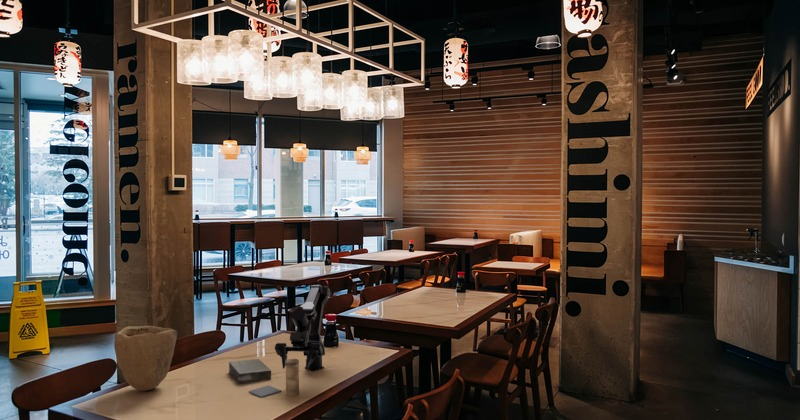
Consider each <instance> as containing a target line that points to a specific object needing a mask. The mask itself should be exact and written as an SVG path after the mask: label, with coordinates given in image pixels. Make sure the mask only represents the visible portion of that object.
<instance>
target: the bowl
mask: <svg viewBox="0 0 800 420" xmlns="http://www.w3.org/2000/svg"><path fill="white" fill-rule="evenodd" d="M177 338H178V331H177V330H175V329H173V328H171V327H160V326H154V325H143V326H142V325H139V326H137V325H135V326H134V325H133V326H132V325H131V326H129V325H128V326H125V327H123V328H122V329H121V330H119V331H117V332H116V333H115V335H114V343H113V345H114V352H115V356H116V361H117V365H118V367H119V369H120V370H121V372H122V375H123V379H124V380H125V381H126V383H128V385H129V386H130V387H131V388H133V389H135V390H138V391H141V392H145V391H150V390H155V389H156V388H158V386H159V385H160V384H161V383H162V382H163V381H164V380H165V378H166V377H167V375H168V373H169V372H170V368H171V364H172V359H173V357H174V353H175V347H176V344H177V342H176V341H177Z"/></svg>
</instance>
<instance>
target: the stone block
mask: <svg viewBox="0 0 800 420" xmlns="http://www.w3.org/2000/svg"><path fill="white" fill-rule="evenodd" d="M228 373H229V374H230V375H231V377H232V378H234V380H235V381H236V383H237V384H238V385H244V384H249V383H251V384H252V383H254V382H260V381H266V380H271V379H272V370H271V369H270V368H269V367H268V366H267V365H266V364H265V363H264V362H263V361H262V360H260V359H259V358H255V359H244V360H234V361H233V360H232V361H229V362H228Z"/></svg>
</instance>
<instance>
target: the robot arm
mask: <svg viewBox="0 0 800 420" xmlns="http://www.w3.org/2000/svg"><path fill="white" fill-rule="evenodd" d="M309 288H310V289H309V292H308V295H307V297H306V300H305V302H304V303H303V304H301V305H300V306H298V307H297V308H296V309H295V310H293V311H292V312H291V315H290V317H291V320H292V322H293V324H294V326H295V327H296V329H295V331H290V333H289V341H290V344H291V345H289V346H287V343H286V342H277V343H275V345H274V350H275V352H276V355H277V356H279V357H280V358H281V364H282V369H283V370H284V369H286V364H285V361H286V360H288V353H289V352H300V353H301V352H303V357H306V359H305V367H304V369H305V370H308V371H312V372H314V371H319V370H322V369H325V366H323V356H325V355H326V349H325V345H324V343H323V339H322V337H321V329H322V327H321V326H322V321H323V315H324V306H325V305H326V304H327V302H328V301H329V297H330V296H331V289H330V288H329V287H328V286H323V285H321V284H313V285H312V284H311V285H310V287H309Z"/></svg>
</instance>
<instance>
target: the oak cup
mask: <svg viewBox="0 0 800 420" xmlns="http://www.w3.org/2000/svg"><path fill="white" fill-rule="evenodd" d="M285 364H286V365H285V395H286V396H287V397H296V396H299V395H300V382H299V381H300V368H299V367H300V365H299V364H300V359H298V358H289V359H288V358H287V360H286V361H285Z"/></svg>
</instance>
